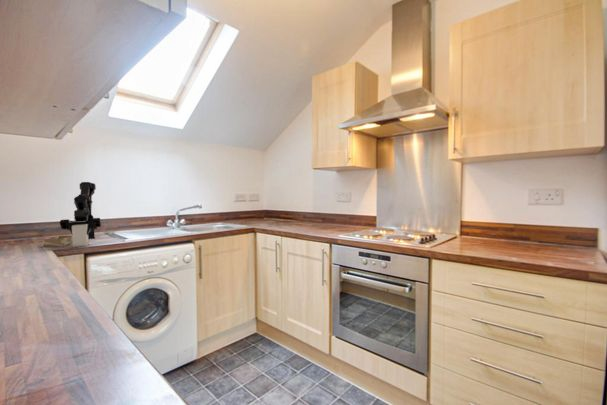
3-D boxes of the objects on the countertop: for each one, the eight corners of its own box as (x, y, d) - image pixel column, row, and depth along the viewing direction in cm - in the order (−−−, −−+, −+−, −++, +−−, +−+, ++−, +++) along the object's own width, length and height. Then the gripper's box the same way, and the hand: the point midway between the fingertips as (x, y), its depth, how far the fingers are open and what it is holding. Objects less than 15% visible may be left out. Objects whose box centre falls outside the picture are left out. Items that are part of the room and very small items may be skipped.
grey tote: (75, 245, 168) (73, 224, 167) (88, 244, 171) (87, 224, 171) (72, 247, 162) (71, 226, 162) (87, 246, 166) (85, 225, 165)
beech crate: (59, 243, 176) (59, 235, 176) (77, 242, 176) (77, 235, 176) (43, 246, 165) (42, 238, 165) (62, 246, 165) (62, 238, 165)
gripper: (59, 205, 164) (55, 227, 155) (99, 204, 174) (98, 224, 165) (63, 218, 172) (60, 239, 163) (101, 216, 181) (100, 236, 172)
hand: (79, 234), depth 165 cm, fingers closed on grey tote, 6 cm apart
